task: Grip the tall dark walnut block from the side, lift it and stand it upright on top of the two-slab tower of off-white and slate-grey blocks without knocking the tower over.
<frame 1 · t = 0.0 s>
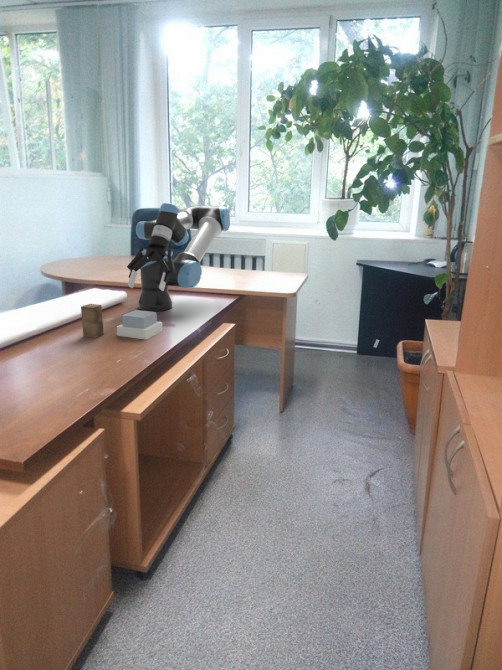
hand: (145, 288, 182), 15 cm above the table, fingers open, 13 cm apart
walnut block: (93, 335, 174), on the table
tower base: (140, 334, 178), on the table, touching tower top
tower top: (140, 324, 177), point 3 cm above the table, touching tower base
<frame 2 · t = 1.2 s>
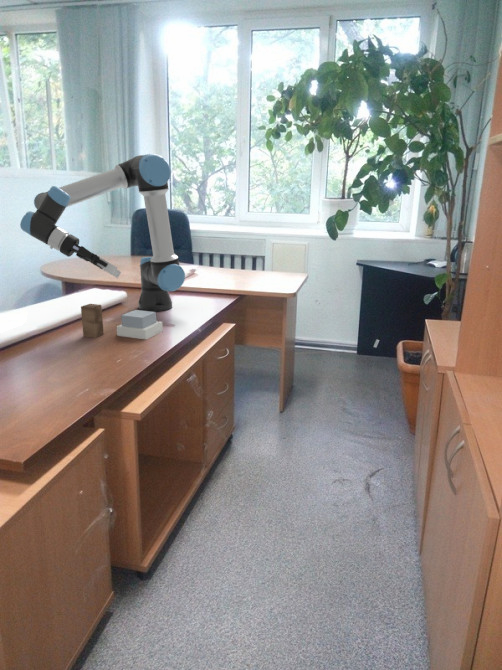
hand: (117, 273, 175), 22 cm above the table, fingers open, 13 cm apart
nothing on the table moved.
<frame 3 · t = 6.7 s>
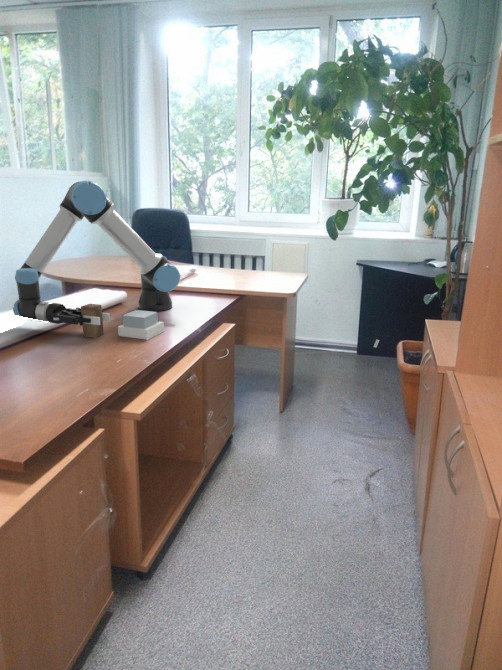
hand: (104, 319, 170), 7 cm above the table, fingers closed on walnut block, 5 cm apart
walnut block: (93, 335, 174), on the table, touching gripper
tower base: (141, 334, 178), on the table
tower top: (140, 324, 177), point 3 cm above the table
when the fingers open (16 cm above the table, at t = 11.2 s): walnut block drops 2 cm, point 7 cm above the table.
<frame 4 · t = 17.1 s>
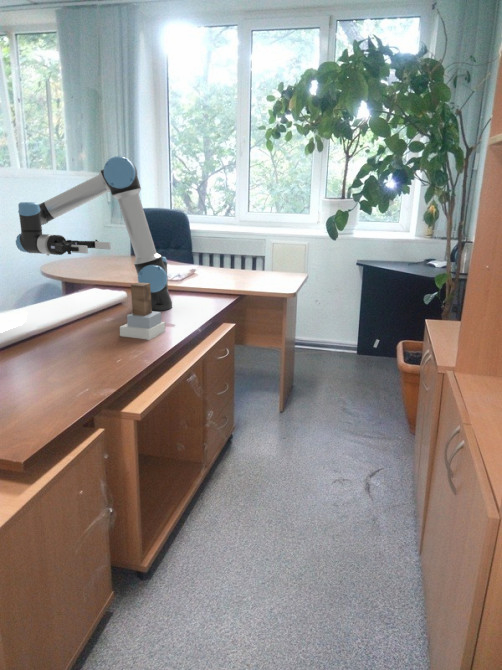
hand: (98, 247, 179), 30 cm above the table, fingers open, 13 cm apart
walnut block: (142, 313, 175), point 7 cm above the table
tower base: (143, 334, 178), on the table, touching tower top
tower top: (144, 324, 177), point 3 cm above the table, touching tower base
at the end: walnut block inside the target area on the tower base (0.2 cm from its centre), point 8.1 cm above the tower base's base; walnut block tilted 1°; tower top 0.7 cm off-centre on the tower base, point 4.0 cm above the tower base's base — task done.
